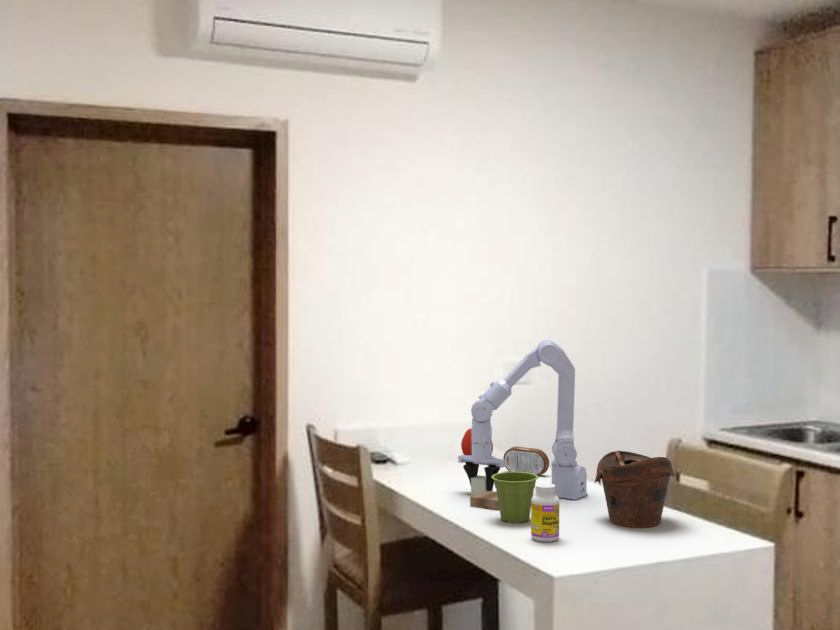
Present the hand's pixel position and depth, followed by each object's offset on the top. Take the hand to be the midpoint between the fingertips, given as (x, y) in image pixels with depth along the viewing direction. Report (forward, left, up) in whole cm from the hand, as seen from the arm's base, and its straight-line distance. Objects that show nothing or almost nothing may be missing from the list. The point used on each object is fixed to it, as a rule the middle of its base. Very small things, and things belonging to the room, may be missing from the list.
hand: (481, 489), depth 285 cm
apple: (+31, -48, -2) cm, 57 cm away
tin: (+4, -32, -2) cm, 32 cm away
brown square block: (-9, +9, -2) cm, 13 cm away
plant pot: (-22, +20, -2) cm, 30 cm away
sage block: (0, 0, -1) cm, 1 cm away
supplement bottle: (-37, +32, -2) cm, 49 cm away
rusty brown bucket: (-48, +5, -2) cm, 48 cm away
